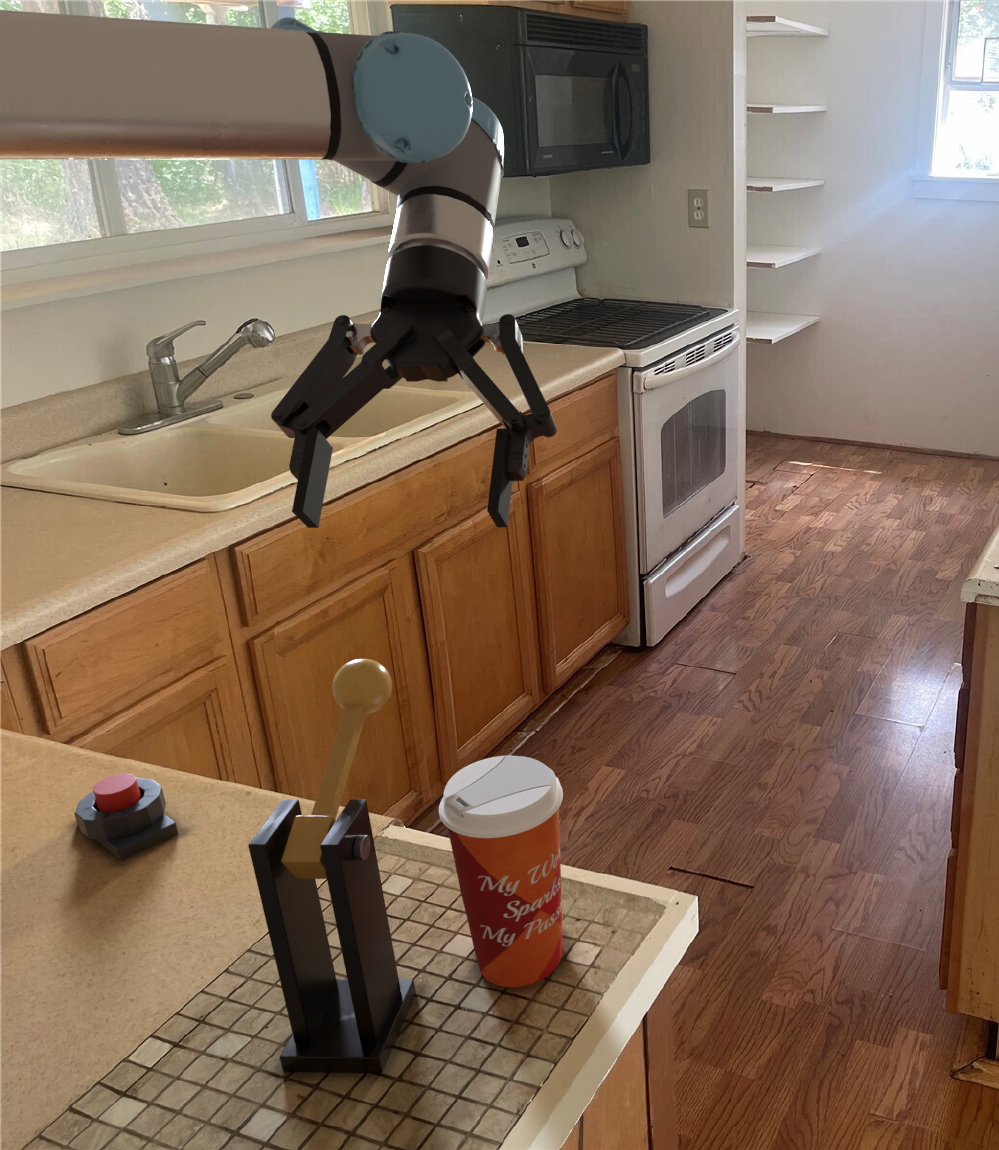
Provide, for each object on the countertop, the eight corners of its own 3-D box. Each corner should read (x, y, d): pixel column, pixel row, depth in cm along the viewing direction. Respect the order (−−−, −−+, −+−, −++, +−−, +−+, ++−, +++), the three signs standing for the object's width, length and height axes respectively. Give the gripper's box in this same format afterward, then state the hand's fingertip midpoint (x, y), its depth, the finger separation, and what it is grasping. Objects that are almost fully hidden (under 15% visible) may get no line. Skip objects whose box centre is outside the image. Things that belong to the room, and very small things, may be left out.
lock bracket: (325, 993, 70) (281, 789, 64) (416, 994, 70) (381, 789, 64) (282, 1073, 64) (229, 856, 58) (382, 1074, 64) (339, 856, 58)
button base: (67, 829, 87) (57, 798, 86) (142, 796, 91) (134, 765, 90) (111, 867, 82) (101, 835, 81) (188, 830, 87) (180, 799, 86)
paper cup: (504, 1019, 68) (479, 835, 63) (440, 960, 73) (412, 784, 68) (602, 955, 73) (587, 780, 68) (536, 904, 78) (518, 737, 73)
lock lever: (350, 679, 71) (332, 647, 69) (404, 679, 71) (388, 647, 68) (287, 883, 62) (264, 856, 60) (349, 883, 62) (328, 856, 59)
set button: (91, 804, 86) (86, 785, 85) (130, 787, 88) (125, 769, 87) (108, 817, 84) (102, 799, 83) (147, 800, 86) (142, 781, 85)
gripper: (605, 300, 87) (587, 540, 79) (299, 303, 87) (250, 541, 79) (589, 238, 80) (567, 494, 72) (257, 241, 80) (198, 496, 72)
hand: (401, 520), depth 75 cm, fingers open, 13 cm apart
